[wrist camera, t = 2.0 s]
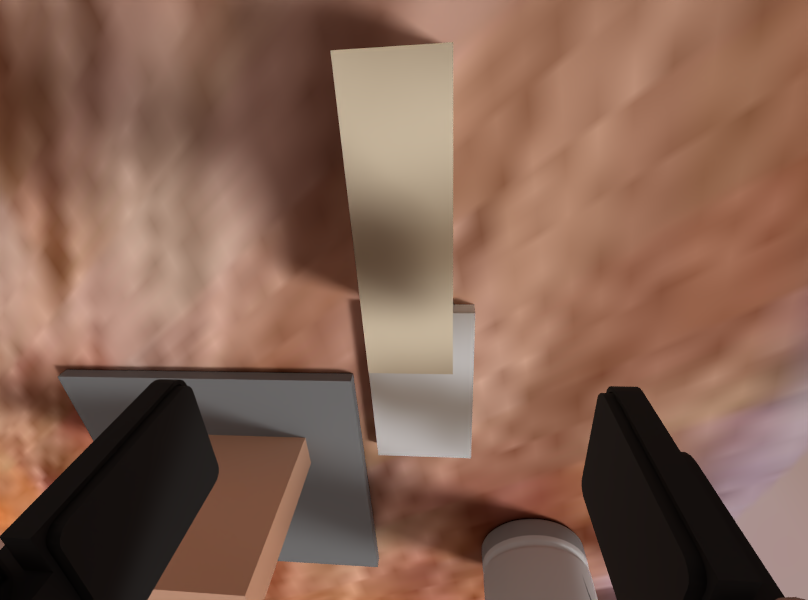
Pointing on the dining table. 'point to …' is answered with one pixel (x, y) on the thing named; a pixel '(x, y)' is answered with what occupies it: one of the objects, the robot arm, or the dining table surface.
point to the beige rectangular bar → (407, 244)
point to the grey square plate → (272, 417)
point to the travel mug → (535, 563)
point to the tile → (239, 521)
